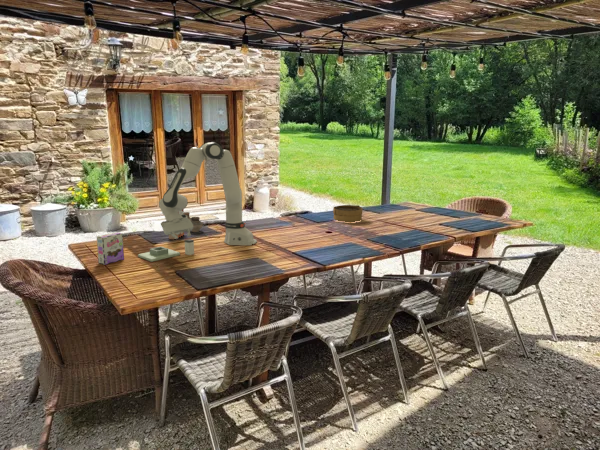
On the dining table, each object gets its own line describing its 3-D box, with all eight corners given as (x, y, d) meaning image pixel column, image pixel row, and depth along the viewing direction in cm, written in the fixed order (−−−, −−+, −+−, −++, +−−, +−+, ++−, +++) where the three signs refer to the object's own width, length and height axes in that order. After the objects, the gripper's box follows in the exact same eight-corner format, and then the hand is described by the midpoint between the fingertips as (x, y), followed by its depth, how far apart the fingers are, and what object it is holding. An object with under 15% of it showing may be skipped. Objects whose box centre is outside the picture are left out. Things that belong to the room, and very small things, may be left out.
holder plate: (166, 250, 302) (166, 243, 301) (180, 254, 292) (179, 247, 291) (138, 256, 287) (137, 249, 286) (151, 261, 278) (151, 254, 277)
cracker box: (176, 239, 328) (175, 210, 323) (168, 239, 329) (166, 210, 324) (185, 235, 341) (183, 207, 337) (177, 234, 343) (176, 206, 338)
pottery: (190, 225, 372) (189, 211, 369) (206, 231, 354) (205, 216, 351) (177, 227, 365) (176, 212, 362) (192, 233, 346) (192, 218, 344)
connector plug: (190, 252, 297) (189, 239, 296) (194, 253, 295) (193, 240, 293) (185, 253, 295) (184, 240, 293) (188, 255, 292) (188, 241, 290)
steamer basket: (331, 222, 389) (332, 209, 387) (334, 217, 413) (334, 204, 411) (361, 224, 385) (362, 211, 383) (362, 218, 409) (363, 206, 407)
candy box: (104, 265, 270) (102, 237, 267) (98, 263, 273) (95, 236, 270) (124, 259, 282) (122, 232, 278) (118, 257, 285) (116, 231, 281)
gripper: (161, 219, 291) (171, 237, 287) (189, 214, 306) (198, 231, 302) (157, 225, 295) (167, 242, 291) (185, 220, 310) (194, 237, 306)
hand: (183, 237), depth 296 cm, fingers open, 8 cm apart
